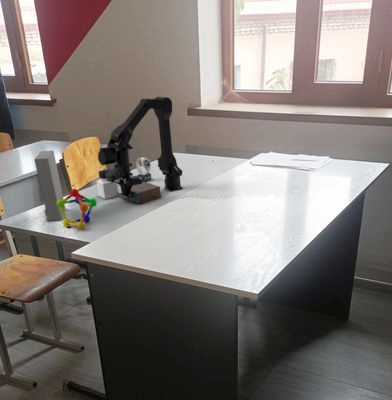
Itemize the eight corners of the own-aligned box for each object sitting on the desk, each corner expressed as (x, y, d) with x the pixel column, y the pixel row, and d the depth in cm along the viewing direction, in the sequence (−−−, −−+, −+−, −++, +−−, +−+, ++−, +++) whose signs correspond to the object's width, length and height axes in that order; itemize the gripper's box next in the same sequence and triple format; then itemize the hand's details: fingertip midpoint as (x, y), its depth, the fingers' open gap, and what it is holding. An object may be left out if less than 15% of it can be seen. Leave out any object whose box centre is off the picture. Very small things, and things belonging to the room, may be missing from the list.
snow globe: (146, 183, 249) (144, 160, 243) (135, 181, 254) (132, 158, 248) (154, 180, 253) (152, 157, 247) (142, 178, 257) (140, 155, 251)
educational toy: (104, 222, 207) (101, 186, 198) (87, 234, 197) (83, 196, 188) (71, 216, 211) (67, 180, 203) (53, 227, 201) (48, 190, 193)
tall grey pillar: (51, 210, 221) (38, 151, 208) (65, 209, 221) (53, 150, 208) (46, 221, 209) (32, 159, 196) (61, 220, 209) (47, 158, 196)
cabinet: (144, 192, 236) (143, 181, 233) (160, 197, 228) (159, 186, 225) (124, 198, 230) (122, 187, 227) (140, 203, 222) (139, 192, 219)
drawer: (142, 192, 236) (141, 181, 233) (159, 197, 227) (158, 187, 224) (114, 200, 227) (112, 190, 225) (130, 206, 219) (129, 195, 216)
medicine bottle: (119, 196, 233) (115, 169, 227) (105, 199, 230) (101, 172, 224) (112, 192, 239) (108, 166, 232) (98, 196, 235) (94, 169, 229)
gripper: (95, 161, 217) (99, 197, 225) (119, 167, 205) (123, 206, 213) (116, 157, 223) (120, 192, 231) (141, 163, 211) (144, 200, 219)
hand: (126, 197), depth 223 cm, fingers closed, pressing on drawer
